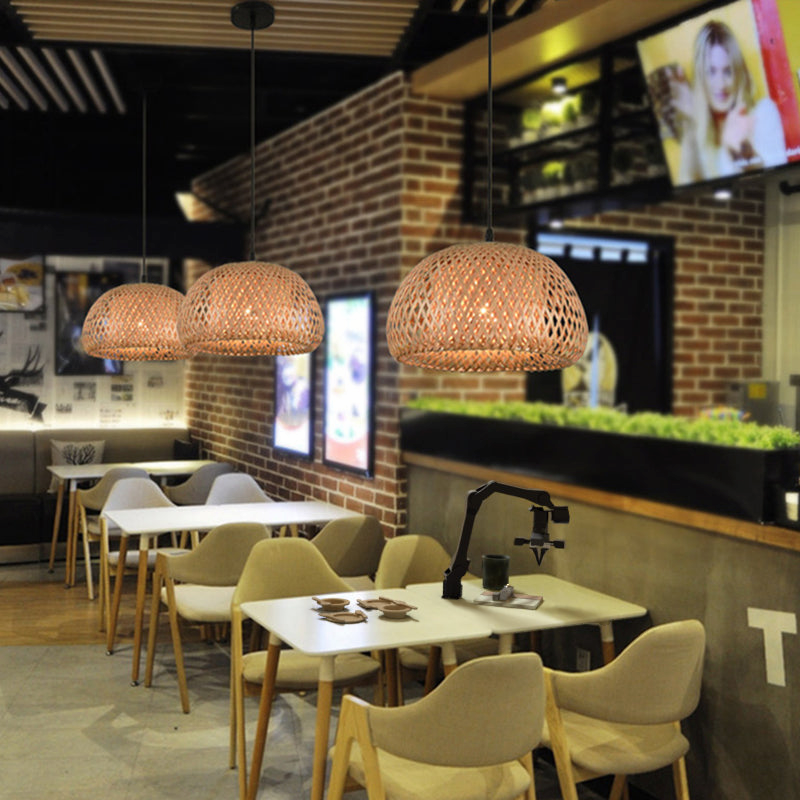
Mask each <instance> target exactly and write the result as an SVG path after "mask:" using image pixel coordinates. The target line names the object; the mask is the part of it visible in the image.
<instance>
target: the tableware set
mask: <svg viewBox="0 0 800 800" xmlns="http://www.w3.org/2000/svg"><path fill="white" fill-rule="evenodd" d="M311 600H313V601H315V602H316V604H317V605H318V606H321V608H322V609H323V610H324V611H327V612H331V613H326V612H323V613H317V615H318V616H319V617H321V618H322V617H323V618H325V619H326V620H327V621H328V622H333V623H340V624H341V623H343V624H352V623H359V622H363V621H365V620H368V619H369V617H368V615H367V614H366V613H364V611H363V610H362V609H355V610H354V612H352V611H349V612H348V611H347V612H345V611H343V612H342V610H344V609H345V607H346V606H349V605H351V601H350V600H349V599H346V598H343V597H342V598H341V597H340V598H339V597H326V598H318V597H316V596H312V597H311ZM356 603H358V605H359V606H360V607H362V608H367V609H374V610H378V611H379V612H382V613H383V615H384V617H385V618H388V619H389V618H390V619H401V618H405V617H406V615H407V613H408V612H411V611H412V610H415V611H417V610H418V609H419V608H418V607H417V606H414V605H411V604H408V603H407V602H405V601H404V600H398V599H393V598H388V597H385V596H382V595H381V596H378V598H368V599H363V600H362V599H359V598H358V599H356ZM339 611H341V612H339Z"/></svg>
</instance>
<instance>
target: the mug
mask: <svg viewBox="0 0 800 800" xmlns="http://www.w3.org/2000/svg"><path fill="white" fill-rule="evenodd" d="M481 558H482V561H481V570H482V579H481V580H482V581H481V582H482V588H484V587H485V588H484V589H488V590H500V591H501V590H502V589H503V588H504V586H506V585H507V584H510V583H509V582H510V581H509V580H510V560H511V556H509V555H506V554H505V555H504V554H495V553H494V554H493V553H492V554H491V553H489V554H483V555H482V556H481Z"/></svg>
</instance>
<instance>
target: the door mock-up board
mask: <svg viewBox="0 0 800 800" xmlns="http://www.w3.org/2000/svg"><path fill="white" fill-rule="evenodd" d="M543 600H544V597H543V595H530V594H521V593H520V594H519V593H514V595H511V596H510V597H509V598H508V600H507V601H504V600H500V591H499V592H498V591H488V590H487V591H485V590H484V591H483V592H482V593H480V594H479V595H478V596H477V597H476V598H475V599H474V600H473V604H474V605H483V606H484V605H485V606H495V607H496V606H497V607H506V608H508V607H509V608H516V609H525V610H528V609H529V610H536V609H537V607H538V606H540V604H541V603H542V602H543Z"/></svg>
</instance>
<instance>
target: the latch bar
mask: <svg viewBox="0 0 800 800" xmlns="http://www.w3.org/2000/svg"><path fill="white" fill-rule="evenodd" d="M514 590H515V586H514V585H512V584H510V583H509V584H507V585H506V586H504V588H503V589H502V590H500V591H499V592H500V600H504V601H507V600H508V598H509V597H510V596H511V595H514V594H515V591H514Z"/></svg>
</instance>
